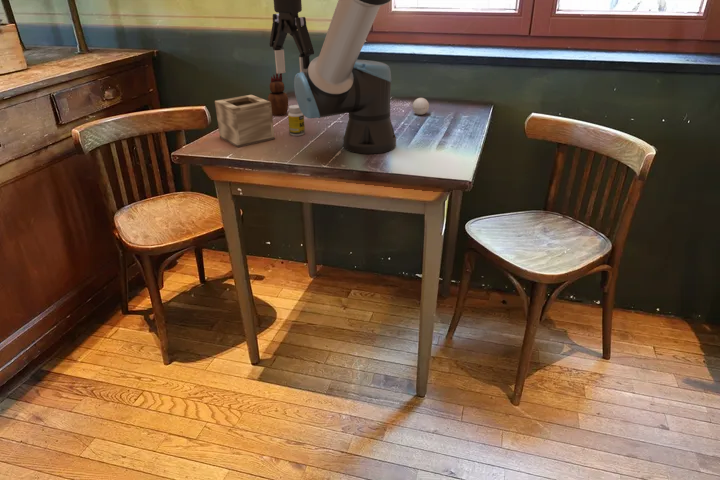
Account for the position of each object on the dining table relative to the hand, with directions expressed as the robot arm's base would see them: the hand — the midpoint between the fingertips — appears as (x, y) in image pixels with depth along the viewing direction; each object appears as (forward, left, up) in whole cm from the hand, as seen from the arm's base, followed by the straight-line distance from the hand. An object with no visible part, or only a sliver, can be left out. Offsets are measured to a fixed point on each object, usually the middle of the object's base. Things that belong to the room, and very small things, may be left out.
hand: (292, 76), depth 149 cm
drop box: (+6, +14, -17) cm, 23 cm away
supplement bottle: (0, 0, -17) cm, 17 cm away
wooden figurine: (+23, -7, -17) cm, 29 cm away
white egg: (-9, -43, -17) cm, 47 cm away
